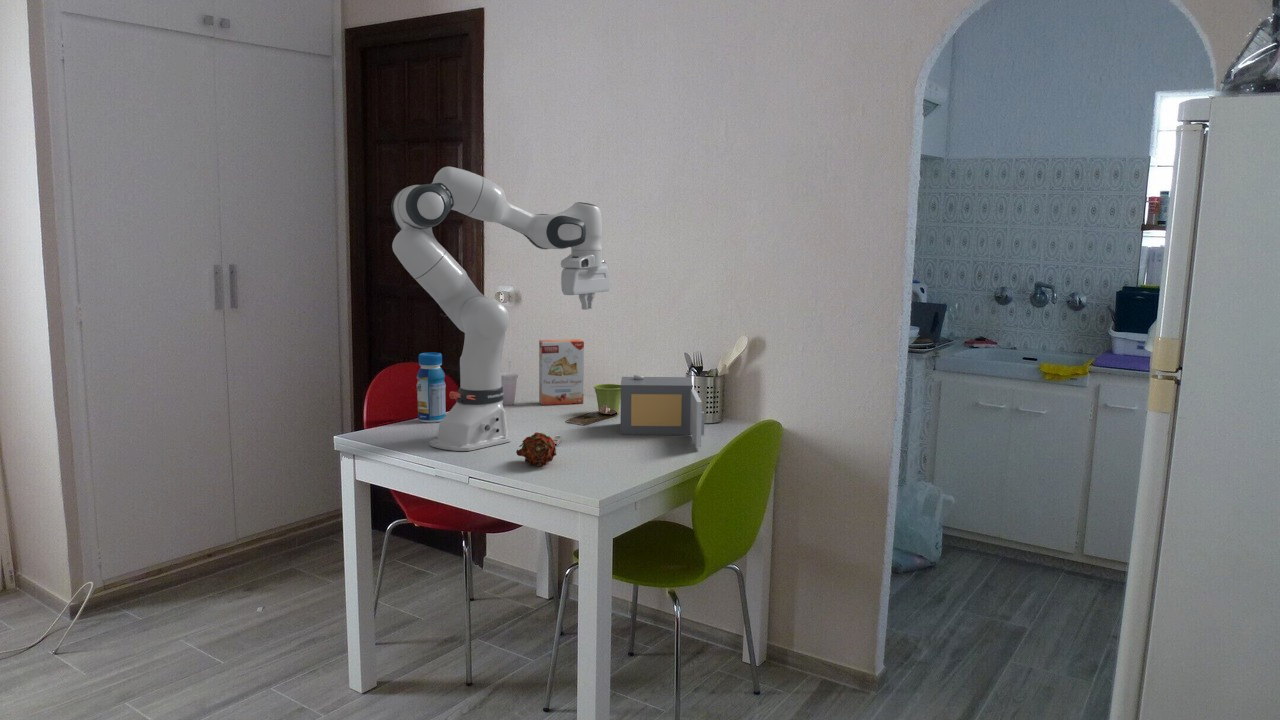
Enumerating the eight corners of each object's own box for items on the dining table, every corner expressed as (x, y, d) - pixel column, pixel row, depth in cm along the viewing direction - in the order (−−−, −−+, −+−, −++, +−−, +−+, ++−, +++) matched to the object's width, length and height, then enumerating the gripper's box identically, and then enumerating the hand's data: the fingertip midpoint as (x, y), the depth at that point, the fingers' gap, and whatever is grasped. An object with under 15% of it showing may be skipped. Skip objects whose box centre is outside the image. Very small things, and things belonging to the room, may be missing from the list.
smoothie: (517, 405, 298) (517, 362, 296) (497, 405, 298) (497, 362, 296) (519, 401, 304) (518, 359, 302) (499, 401, 304) (499, 359, 302)
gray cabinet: (691, 435, 258) (692, 382, 256) (620, 434, 258) (620, 381, 256) (689, 423, 272) (690, 373, 270) (621, 423, 273) (621, 373, 270)
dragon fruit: (546, 477, 221) (526, 472, 231) (570, 452, 224) (549, 449, 235) (525, 451, 218) (505, 447, 228) (550, 426, 222) (529, 424, 232)
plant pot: (591, 411, 290) (591, 384, 289) (620, 410, 292) (621, 383, 291) (595, 417, 281) (595, 389, 280) (626, 416, 283) (626, 388, 282)
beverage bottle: (443, 423, 271) (441, 356, 268) (414, 423, 271) (412, 355, 268) (449, 417, 280) (447, 351, 277) (421, 417, 280) (419, 351, 277)
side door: (697, 431, 258) (698, 389, 256) (704, 447, 240) (704, 402, 238) (690, 431, 258) (690, 389, 256) (696, 447, 240) (697, 402, 238)
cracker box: (541, 406, 298) (541, 341, 295) (538, 402, 304) (538, 339, 300) (584, 404, 302) (584, 340, 298) (580, 400, 307) (580, 338, 304)
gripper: (597, 259, 272) (597, 305, 274) (557, 261, 255) (557, 311, 257) (615, 259, 269) (615, 307, 271) (576, 262, 252) (576, 312, 254)
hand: (586, 309), depth 264 cm, fingers closed
